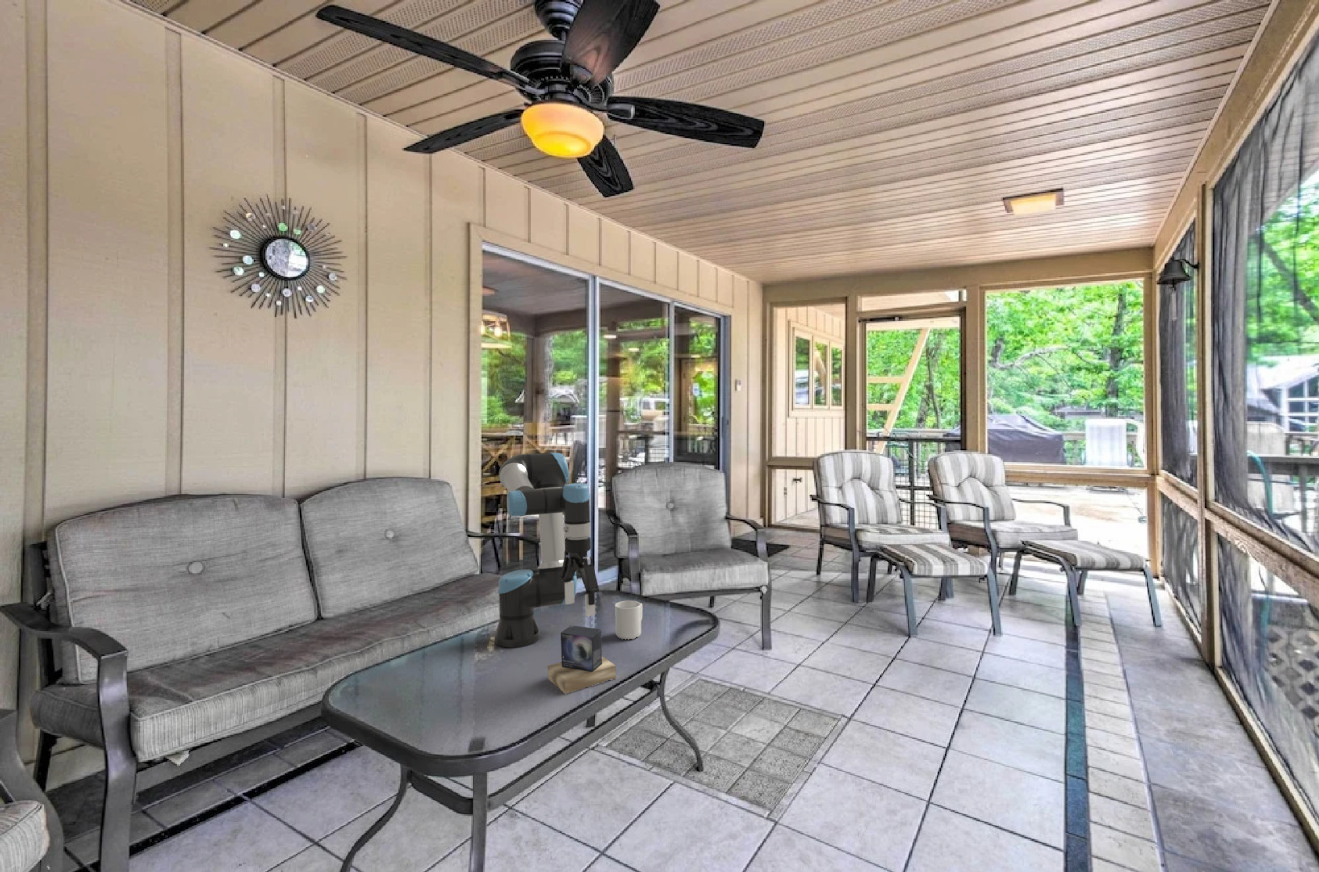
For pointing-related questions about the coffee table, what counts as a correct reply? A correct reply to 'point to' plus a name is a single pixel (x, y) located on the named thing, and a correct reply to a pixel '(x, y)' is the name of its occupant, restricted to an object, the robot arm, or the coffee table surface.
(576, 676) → the wooden block
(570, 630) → the small box
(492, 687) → the coffee table surface
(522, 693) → the coffee table surface
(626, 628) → the mug
